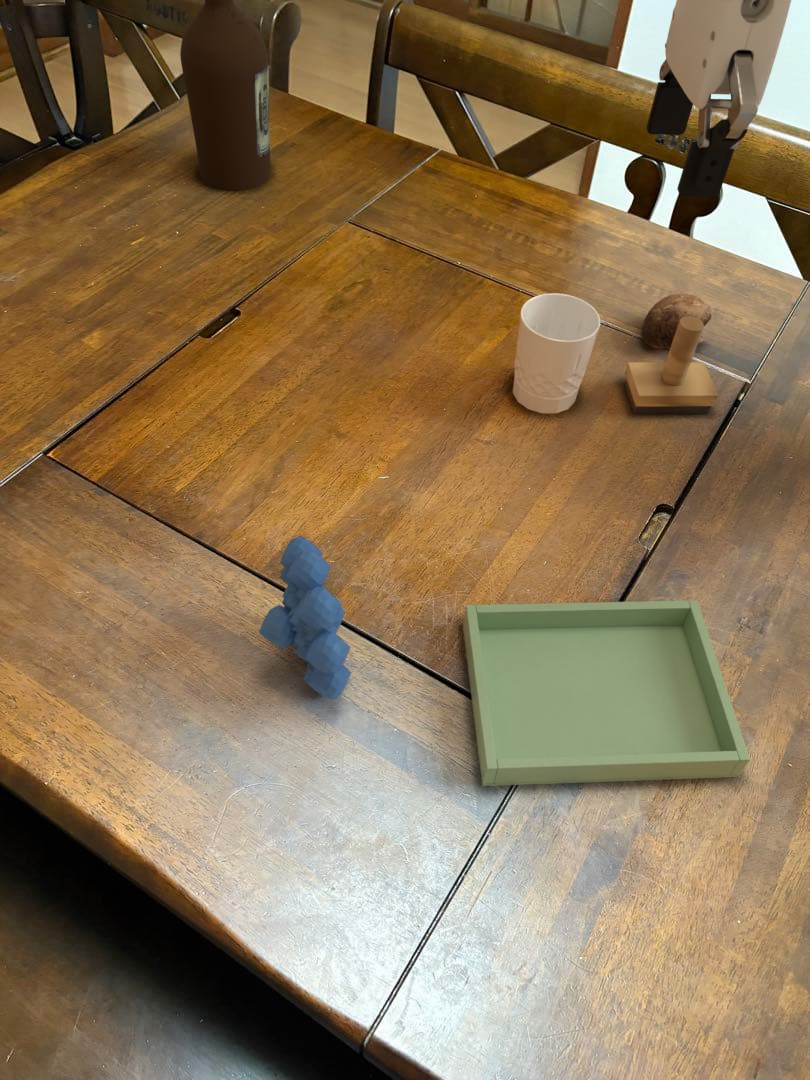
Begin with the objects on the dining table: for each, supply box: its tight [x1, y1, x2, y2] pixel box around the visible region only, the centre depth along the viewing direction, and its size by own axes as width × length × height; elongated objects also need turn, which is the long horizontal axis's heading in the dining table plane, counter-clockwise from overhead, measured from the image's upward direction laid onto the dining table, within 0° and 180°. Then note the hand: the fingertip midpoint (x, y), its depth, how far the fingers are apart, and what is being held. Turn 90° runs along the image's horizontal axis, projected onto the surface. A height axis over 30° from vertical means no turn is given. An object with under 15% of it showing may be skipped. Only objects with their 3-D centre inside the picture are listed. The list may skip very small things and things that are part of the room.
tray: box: [462, 599, 751, 787], centre depth 72 cm, size 20×15×3 cm
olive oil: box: [179, 0, 272, 192], centre depth 114 cm, size 11×11×25 cm
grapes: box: [259, 535, 352, 701], centre depth 70 cm, size 12×7×12 cm, turn 18°
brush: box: [623, 316, 719, 415], centre depth 94 cm, size 8×5×10 cm, turn 94°
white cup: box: [512, 292, 601, 414], centre depth 94 cm, size 8×8×10 cm
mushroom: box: [641, 293, 712, 350], centre depth 103 cm, size 8×8×6 cm
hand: (680, 162), depth 73 cm, fingers open, 9 cm apart
